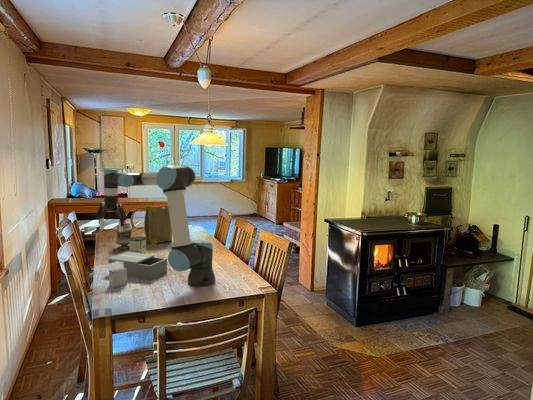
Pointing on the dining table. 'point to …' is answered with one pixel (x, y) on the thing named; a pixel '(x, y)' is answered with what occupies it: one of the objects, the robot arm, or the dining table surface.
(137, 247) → the coffee can
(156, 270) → the crate
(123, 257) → the lid
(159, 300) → the dining table surface
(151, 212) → the decorative book
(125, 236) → the apothecary jar
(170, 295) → the dining table surface
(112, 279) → the medicine box
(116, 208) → the robot arm
